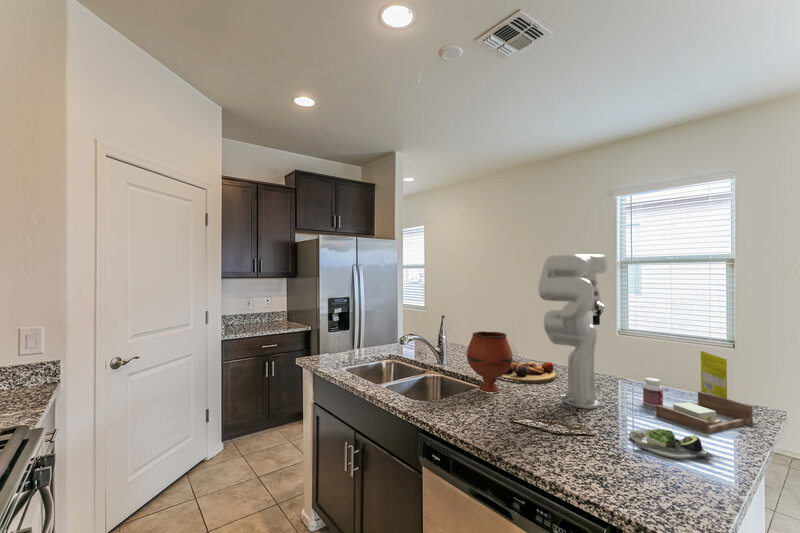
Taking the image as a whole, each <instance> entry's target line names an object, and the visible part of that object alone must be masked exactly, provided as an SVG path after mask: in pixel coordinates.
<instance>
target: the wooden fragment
mask: <svg viewBox="0 0 800 533" xmlns="http://www.w3.org/2000/svg"><path fill="white" fill-rule="evenodd" d="M529 418H530V419H531V420H534V419H536V418H534V417H533V418H534V419H532V418H531V417H529ZM529 418H528V417H526V418H525V419H529ZM530 419H529V420H530ZM549 420H550V422H549ZM536 421H537V420H536ZM552 421H553V420H552V419H547V421H546V422H545V421H541V420H538V422H542V423H545V424H546V423H549V424H548V425H550V424H551V425H554V424H557V423H558V425H559V423H560V422H557V421H553V422H552ZM560 425H561V426H565V427H566V428H567V429H572V430H582V431H583V430H586V429H587V428H586V427H585V426H582V425H580V426H581V427H572V425H573V424H568V423H564V424H563V423H560ZM569 425H570V426H569ZM553 427H554V426H553ZM582 428H583V429H582ZM538 429H540V430H542V429H543V430H544V431H546V432H550V433H552V434H556V433H557V434H558V432H557V431H553V430H548V429H544V428H538ZM543 430H542V431H543ZM585 432H586V434H587V435H586V436H589V435H592V436H595V434H594V433H593V432H591V431H590V430H589V429H587V431H585ZM560 435H575V434H574V433H571V432H569V433H568V432H565V433H563V432H561V434H560Z"/></svg>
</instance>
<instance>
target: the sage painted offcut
mask: <svg viewBox="0 0 800 533" xmlns="http://www.w3.org/2000/svg"><path fill="white" fill-rule="evenodd" d="M672 408H673V409H676V410H679V411H681V412H684V413H687V414H689V415H692V416H695V417H698V418H704V417H712V416H716V417H717V413H716V411H713V410H711V409H708V408H705V407H702V406H699V405H696V404H694V403H692V402H689V401H688V402H679V403H673V404H672Z"/></svg>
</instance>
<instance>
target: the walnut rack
mask: <svg viewBox="0 0 800 533" xmlns="http://www.w3.org/2000/svg"><path fill="white" fill-rule="evenodd" d="M693 404H696V405H699V406H702V407H705V408H708V409H711V410H713V411H716V414H720V415H723V416H726V417H730V418H733V420H732V419H731V420H727V421H724V422H721V423H718V424H714V425H710V422H709V421H706V420H703V419H700V418H697V417H694V416H691V415H688V414H685V413H682V412H679V411H676V410H673V409H672V408H673V407H670V408H669V407H667V406H664V405H663V406H661V405H656V408H655V409H656V410H655V412H656V414H655V415H656V417H657V416H658V417H660V418H663V419H665V420H668V421H671V422H672V423H673V422H674V423H677V424H679V425H682V426H685V427H688V428H691V429H693V430H696V431H697V432H698V431H699V432H701V433H704V434H712V433H716V432H720V431H724V430H727V429H731V428H735V427H740V426H744V425H748V424H753V423H754V422H753V419H754V418H753V417H754V416H753V405H750V404H747V403H744V402H739V401H736V400H733V399H730V398H729V399H728V398H727V399H725V398H722V397H718V396H714V395H711V394H707V393H703V392H701V391H697V402H696V403H693Z"/></svg>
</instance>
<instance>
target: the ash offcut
mask: <svg viewBox="0 0 800 533" xmlns="http://www.w3.org/2000/svg"><path fill="white" fill-rule="evenodd" d="M671 408H672V409H673V407H671ZM673 410H676V409H673ZM676 411H679V410H676ZM679 412H681V411H679ZM682 413H684V412H682ZM685 414H687V413H685ZM688 415H689V414H688ZM691 416H692V415H691ZM694 417H695V416H694ZM697 418H698V417H697ZM700 419H703V420H706V421H709V422H710V421H712V420H714V419H717V415H716V416H712V417H704V418H700Z"/></svg>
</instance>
